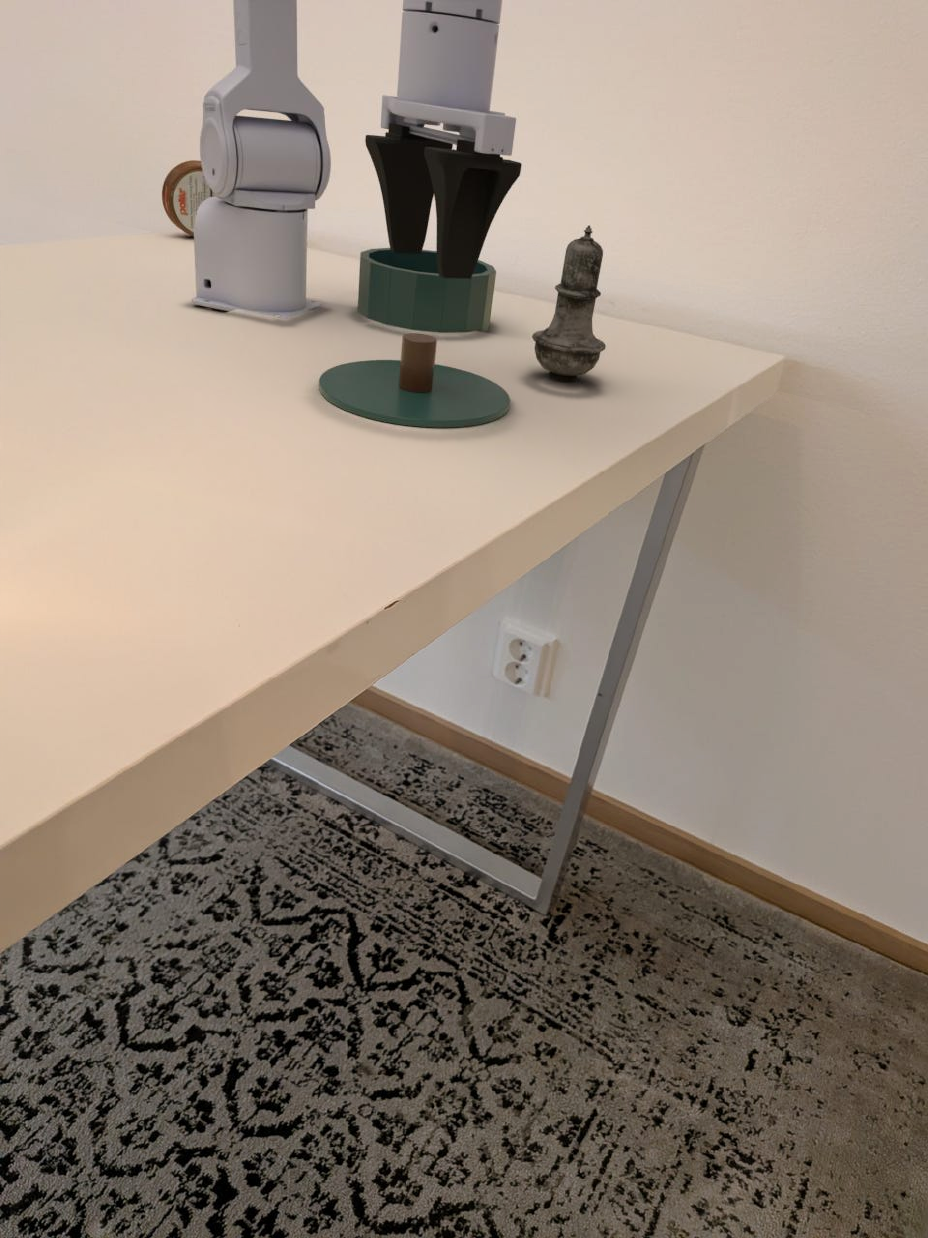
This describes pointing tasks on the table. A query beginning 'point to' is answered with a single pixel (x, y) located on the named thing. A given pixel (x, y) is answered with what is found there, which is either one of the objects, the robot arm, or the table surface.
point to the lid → (414, 389)
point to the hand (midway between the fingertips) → (429, 264)
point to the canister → (423, 293)
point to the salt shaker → (573, 315)
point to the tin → (185, 194)
